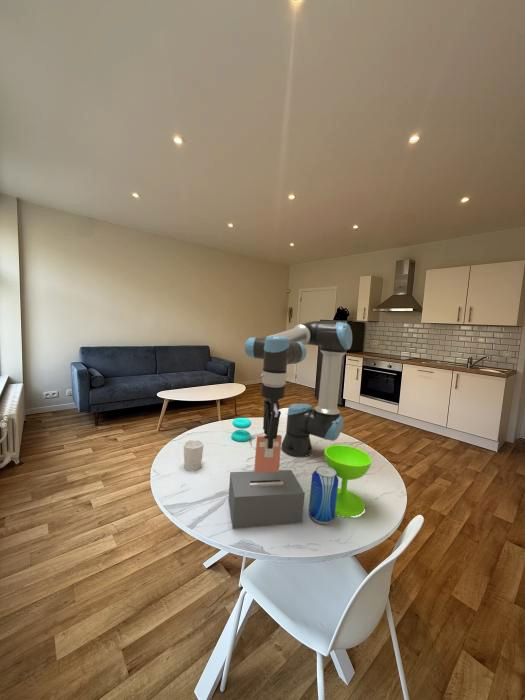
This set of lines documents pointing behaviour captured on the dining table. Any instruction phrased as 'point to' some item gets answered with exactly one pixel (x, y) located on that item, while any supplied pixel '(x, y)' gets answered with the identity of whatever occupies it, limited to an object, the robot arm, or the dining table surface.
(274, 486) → the dispenser
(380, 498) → the dining table surface
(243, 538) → the dining table surface
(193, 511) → the dining table surface
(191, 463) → the white cup
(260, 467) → the ticket
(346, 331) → the robot arm
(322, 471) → the beer can
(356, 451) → the wineglass
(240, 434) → the donuts
